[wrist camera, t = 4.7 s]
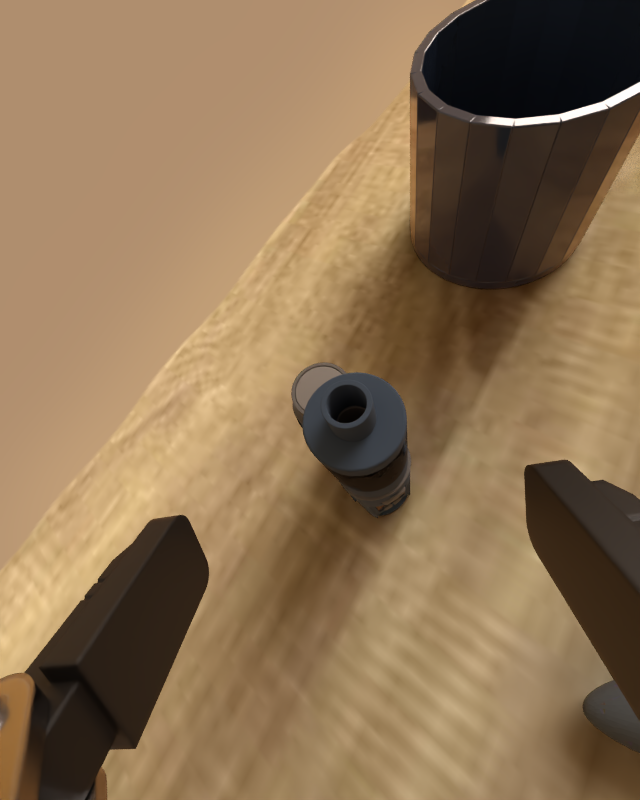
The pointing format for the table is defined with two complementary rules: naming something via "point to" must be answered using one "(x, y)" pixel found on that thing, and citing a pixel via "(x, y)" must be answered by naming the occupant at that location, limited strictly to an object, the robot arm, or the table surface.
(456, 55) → the pen cup
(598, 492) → the robot arm
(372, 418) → the vaping device
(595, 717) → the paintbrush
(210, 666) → the table surface
